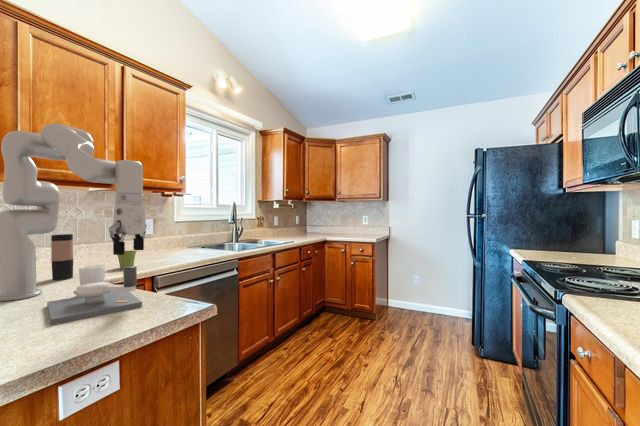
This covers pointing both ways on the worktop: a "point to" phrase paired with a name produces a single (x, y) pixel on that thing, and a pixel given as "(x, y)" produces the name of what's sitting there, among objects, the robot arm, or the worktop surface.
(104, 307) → the post base
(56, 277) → the travel mug
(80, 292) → the lever handle
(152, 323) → the worktop surface
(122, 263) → the plant pot
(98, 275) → the white cup
